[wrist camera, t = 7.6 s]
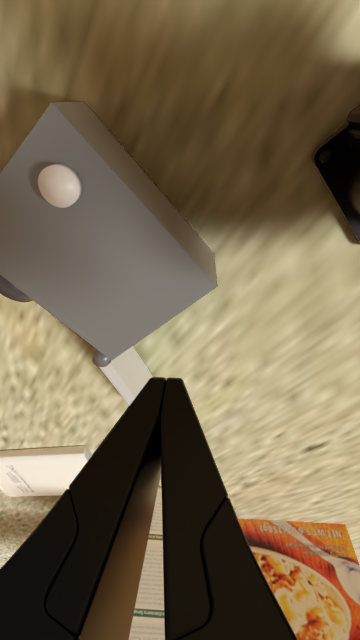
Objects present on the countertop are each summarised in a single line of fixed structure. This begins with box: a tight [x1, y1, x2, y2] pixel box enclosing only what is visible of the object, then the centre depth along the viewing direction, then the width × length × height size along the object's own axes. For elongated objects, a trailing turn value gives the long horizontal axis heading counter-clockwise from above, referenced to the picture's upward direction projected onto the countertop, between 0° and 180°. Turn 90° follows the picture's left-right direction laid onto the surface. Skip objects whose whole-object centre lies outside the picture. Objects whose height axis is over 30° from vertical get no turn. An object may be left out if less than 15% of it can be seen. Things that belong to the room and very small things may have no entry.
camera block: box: [0, 102, 217, 361], centre depth 17 cm, size 10×9×5 cm
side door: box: [93, 346, 153, 406], centre depth 22 cm, size 1×9×4 cm, turn 24°
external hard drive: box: [0, 445, 92, 497], centre depth 34 cm, size 2×8×12 cm
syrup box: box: [129, 487, 165, 640], centre depth 31 cm, size 6×6×14 cm
